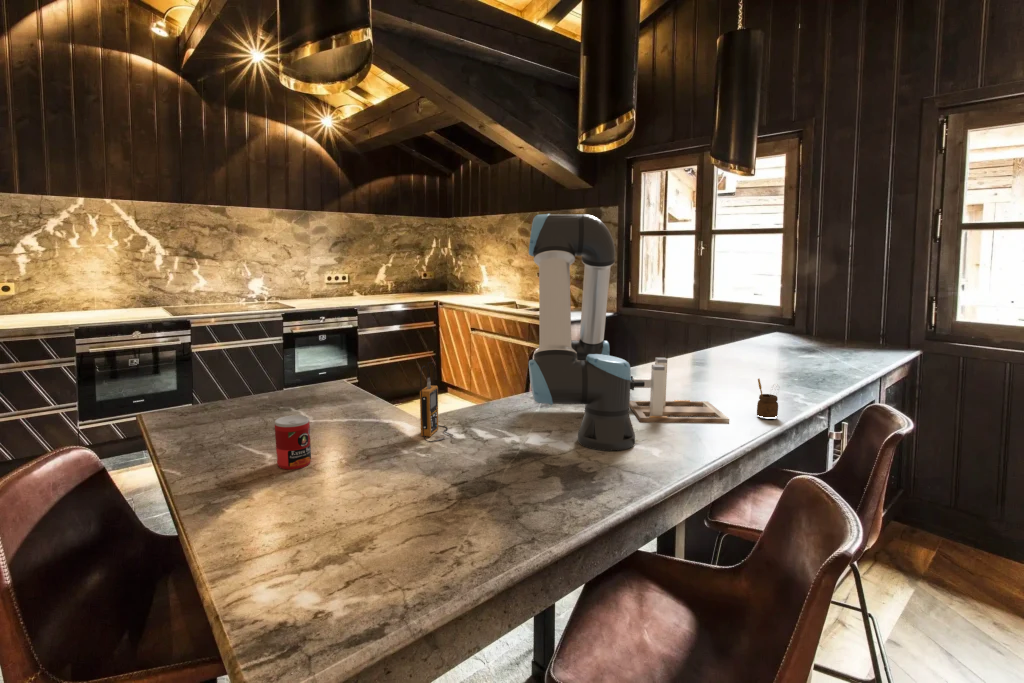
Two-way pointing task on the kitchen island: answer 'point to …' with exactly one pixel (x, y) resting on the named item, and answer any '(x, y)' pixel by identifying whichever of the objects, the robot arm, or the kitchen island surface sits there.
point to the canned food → (293, 442)
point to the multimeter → (429, 409)
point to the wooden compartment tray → (679, 412)
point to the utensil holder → (767, 404)
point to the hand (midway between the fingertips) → (653, 383)
